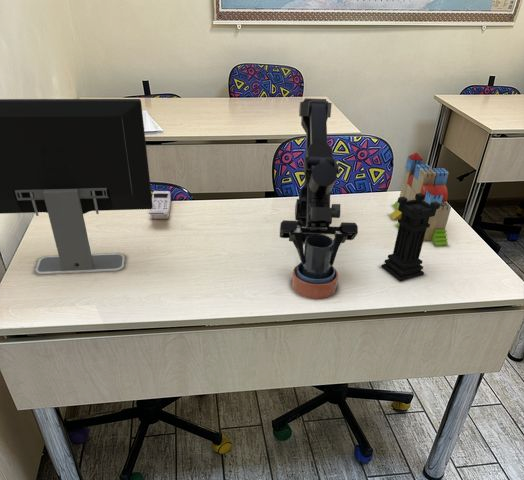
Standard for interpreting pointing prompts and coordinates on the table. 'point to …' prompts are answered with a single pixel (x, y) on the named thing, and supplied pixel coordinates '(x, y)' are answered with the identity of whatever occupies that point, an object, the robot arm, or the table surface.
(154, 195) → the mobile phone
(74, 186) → the computer monitor
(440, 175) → the block set
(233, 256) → the table surface
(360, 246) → the table surface
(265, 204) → the table surface
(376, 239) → the table surface
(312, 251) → the tumbler
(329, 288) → the stack bottom
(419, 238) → the chess piece
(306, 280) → the stack middle
